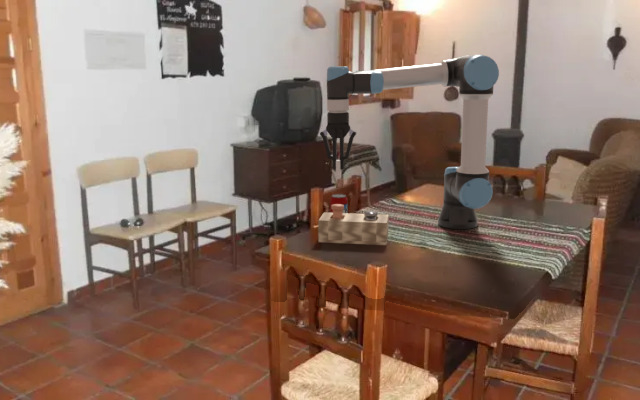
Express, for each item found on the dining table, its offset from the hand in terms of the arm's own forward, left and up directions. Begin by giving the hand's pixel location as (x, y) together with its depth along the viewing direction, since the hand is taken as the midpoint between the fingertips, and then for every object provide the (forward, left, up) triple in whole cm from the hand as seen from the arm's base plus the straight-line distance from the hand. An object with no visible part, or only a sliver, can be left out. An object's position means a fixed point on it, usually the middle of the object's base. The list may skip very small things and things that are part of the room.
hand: (338, 178), depth 215 cm
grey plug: (-12, 0, -20) cm, 23 cm away
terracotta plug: (0, 0, -18) cm, 18 cm away
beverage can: (+2, -18, -22) cm, 29 cm away
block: (-6, 0, -22) cm, 23 cm away
